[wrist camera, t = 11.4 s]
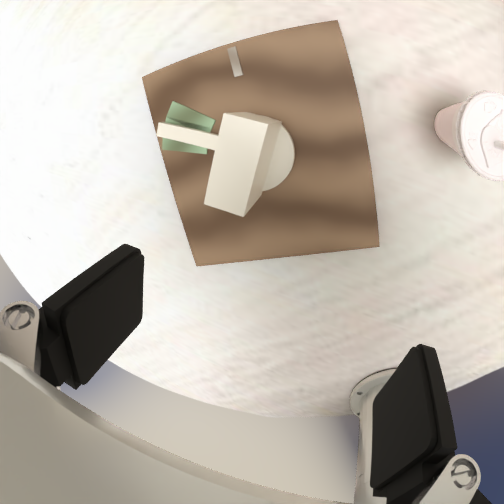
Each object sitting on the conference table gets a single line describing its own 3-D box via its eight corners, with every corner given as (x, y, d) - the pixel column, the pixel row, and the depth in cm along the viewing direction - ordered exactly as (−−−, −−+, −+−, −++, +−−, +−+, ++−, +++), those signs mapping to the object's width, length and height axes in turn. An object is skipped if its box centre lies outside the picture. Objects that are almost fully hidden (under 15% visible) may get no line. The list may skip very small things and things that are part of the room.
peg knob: (304, 127, 25) (295, 132, 19) (282, 198, 29) (268, 225, 22) (168, 95, 27) (126, 95, 20) (156, 160, 30) (115, 176, 24)
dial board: (378, 241, 30) (379, 247, 29) (200, 261, 36) (196, 267, 35) (337, 23, 21) (337, 19, 20) (148, 77, 28) (140, 77, 27)
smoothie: (412, 141, 25) (474, 170, 12) (431, 82, 22) (504, 67, 9) (466, 169, 24) (544, 217, 12) (485, 112, 21) (573, 127, 9)
